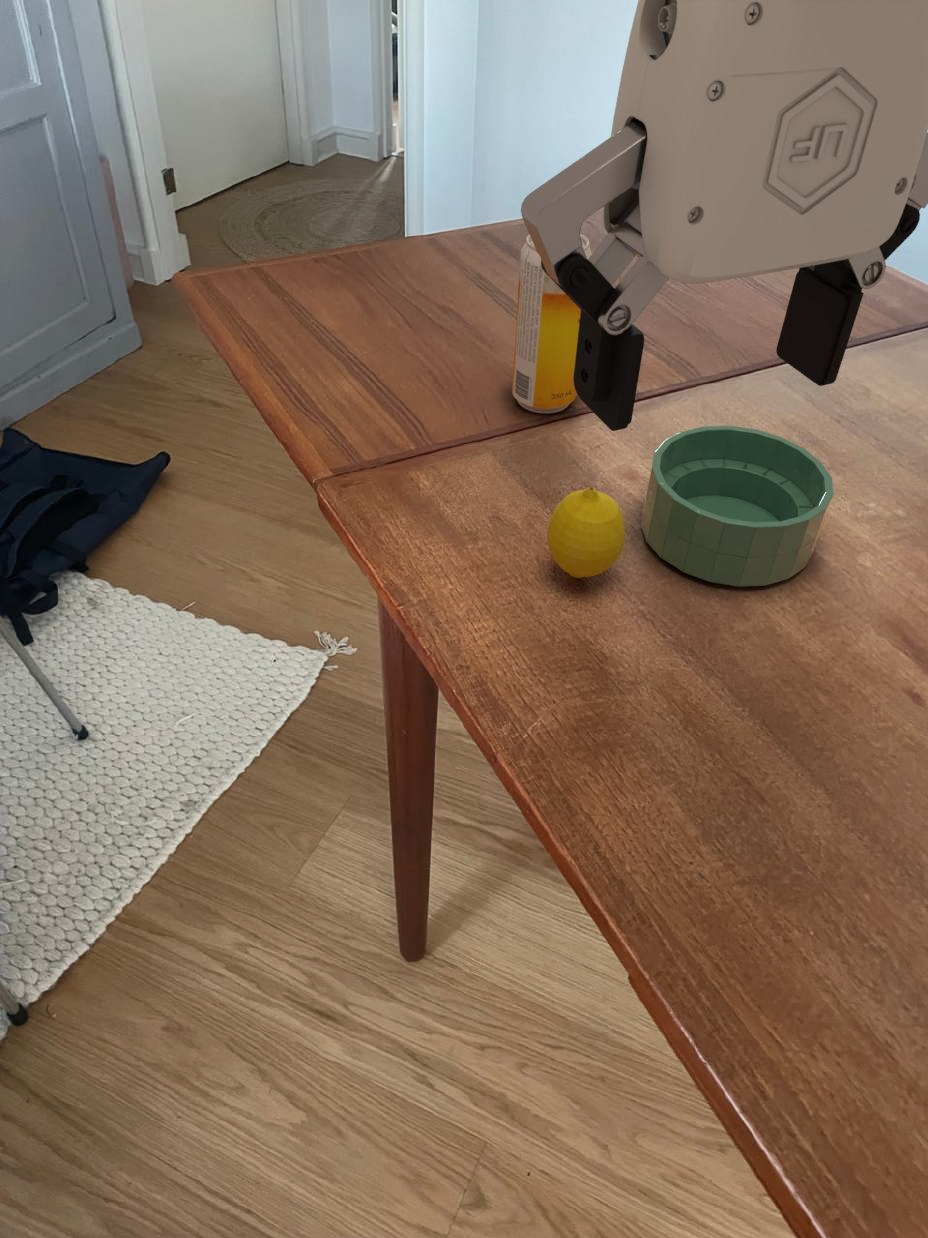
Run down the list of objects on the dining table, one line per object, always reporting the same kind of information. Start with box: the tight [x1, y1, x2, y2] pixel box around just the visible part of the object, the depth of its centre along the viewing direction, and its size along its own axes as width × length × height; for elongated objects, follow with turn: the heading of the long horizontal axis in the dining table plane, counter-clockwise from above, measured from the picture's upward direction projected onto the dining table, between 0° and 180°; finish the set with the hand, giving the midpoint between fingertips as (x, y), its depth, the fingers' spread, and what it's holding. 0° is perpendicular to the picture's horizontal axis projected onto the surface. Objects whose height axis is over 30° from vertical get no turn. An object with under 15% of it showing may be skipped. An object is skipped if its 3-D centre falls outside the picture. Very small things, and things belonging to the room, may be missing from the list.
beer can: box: [511, 233, 593, 414], centre depth 83 cm, size 6×6×15 cm
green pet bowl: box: [640, 425, 835, 588], centre depth 72 cm, size 13×13×6 cm
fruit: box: [546, 486, 626, 579], centre depth 67 cm, size 6×6×8 cm
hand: (706, 390), depth 38 cm, fingers open, 9 cm apart
